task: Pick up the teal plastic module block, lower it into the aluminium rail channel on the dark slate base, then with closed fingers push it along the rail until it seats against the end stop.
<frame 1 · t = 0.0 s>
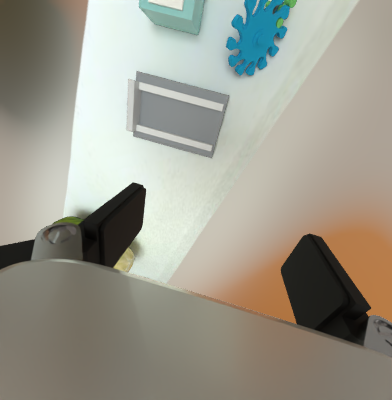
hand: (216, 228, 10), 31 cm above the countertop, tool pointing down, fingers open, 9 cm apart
gear: (256, 42, 30), on the countertop
module: (178, 10, 29), on the countertop
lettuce: (109, 233, 57), on the countertop
rail base: (178, 117, 37), on the countertop
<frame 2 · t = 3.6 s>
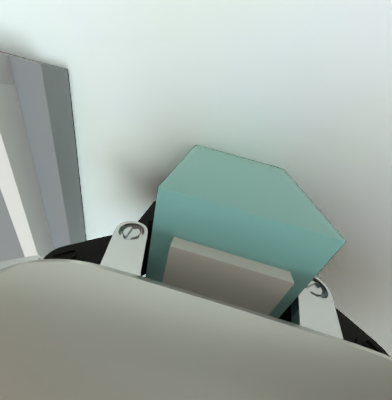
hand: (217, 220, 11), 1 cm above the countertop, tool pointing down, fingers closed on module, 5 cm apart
module: (218, 214, 12), on the countertop, touching gripper
rail base: (11, 188, 14), on the countertop
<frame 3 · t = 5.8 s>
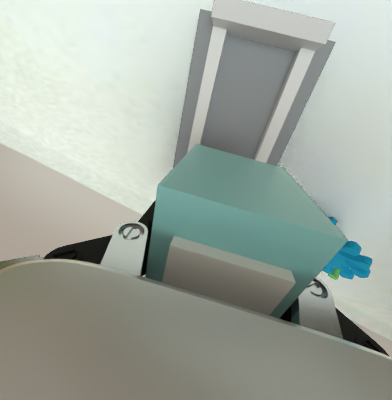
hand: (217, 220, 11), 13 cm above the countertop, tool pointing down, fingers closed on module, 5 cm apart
gear: (307, 232, 26), on the countertop
module: (218, 214, 12), point 13 cm above the countertop, touching gripper
rail base: (232, 130, 21), on the countertop
when the fingers open (3 cm above the countertop, at t = 8.0 s): module drops 1 cm, resting on rail base.
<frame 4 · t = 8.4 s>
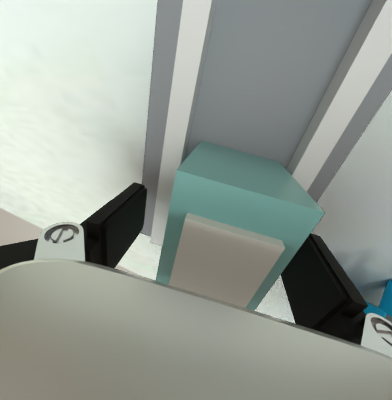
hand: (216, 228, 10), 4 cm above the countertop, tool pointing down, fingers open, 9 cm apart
gear: (350, 294, 17), on the countertop
module: (221, 204, 13), point 1 cm above the countertop, touching rail base
rail base: (237, 146, 12), on the countertop
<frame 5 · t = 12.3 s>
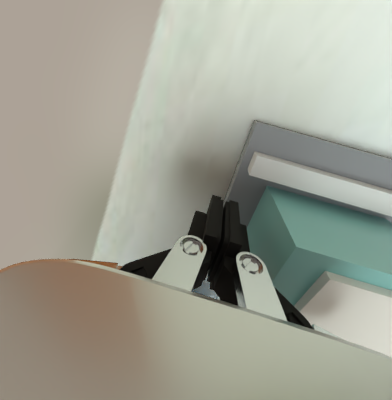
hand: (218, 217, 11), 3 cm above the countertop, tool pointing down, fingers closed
module: (305, 230, 13), point 2 cm above the countertop, touching gripper
rail base: (333, 230, 14), on the countertop
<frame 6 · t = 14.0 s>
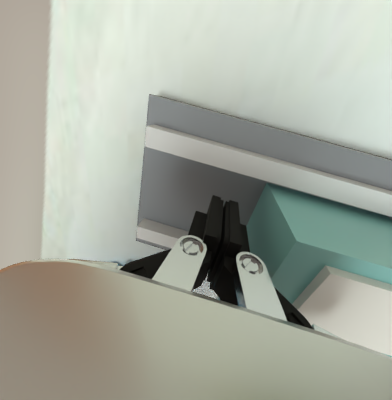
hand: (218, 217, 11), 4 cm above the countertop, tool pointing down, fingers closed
module: (305, 227, 13), point 1 cm above the countertop, touching gripper, rail base
rail base: (252, 206, 14), on the countertop
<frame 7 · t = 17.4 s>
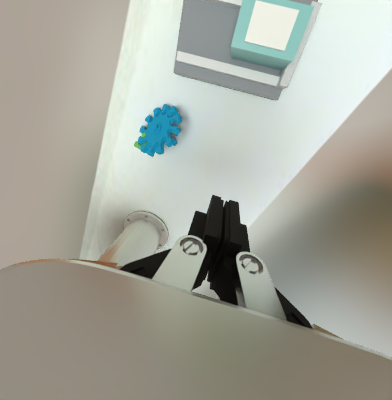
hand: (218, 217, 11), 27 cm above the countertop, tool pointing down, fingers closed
gear: (163, 129, 36), on the countertop
module: (261, 43, 26), point 1 cm above the countertop, touching rail base
rail base: (236, 43, 28), on the countertop
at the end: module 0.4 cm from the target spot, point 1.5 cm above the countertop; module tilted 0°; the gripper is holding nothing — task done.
